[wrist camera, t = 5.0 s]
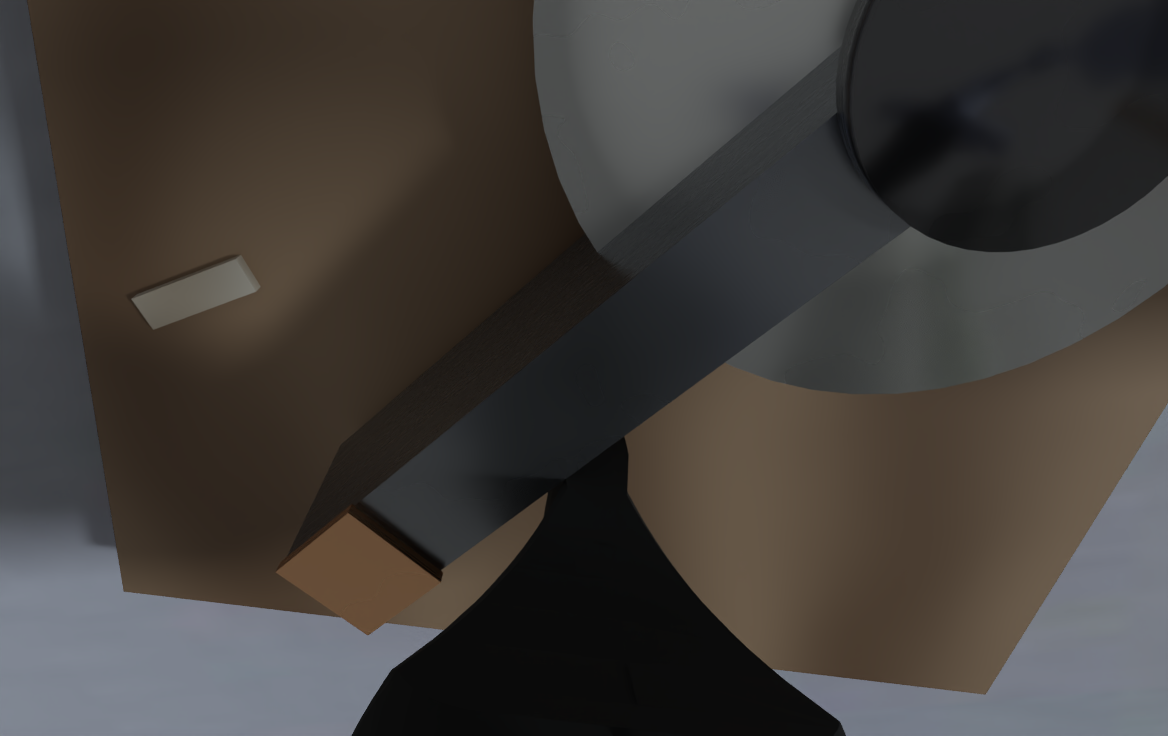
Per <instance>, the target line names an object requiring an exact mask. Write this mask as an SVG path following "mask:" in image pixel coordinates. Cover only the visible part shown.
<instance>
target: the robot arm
mask: <svg viewBox="0 0 1168 736" xmlns="http://www.w3.org/2000/svg"><path fill="white" fill-rule="evenodd" d="M628 461H629V454H628V449H627V444H626V440H625V437H622V438H621V439H620V440H618V441H617V442H616V443H614V444H613V445H612V446H610V447H609V448H607V449H606V450H605V451H603V452H602V453H601V454H599V455H598V456H597V457H595V458H594V459H592V460H591V461H590V462H588V463H587V464H586V465H584V466H583V467H582V468H580V469H579V470H577V471H576V472H575V473H573V474H572V475H571V476H569V477H568V478H566V479H565V480H564V481H562V482H561V483H560V484H558V485H557V486H556V487H554V488H553V489H551V490H550V491H549V492H548V495H547V500H546V506H545V511H544V517H543V519H542V521H541V522H540V524H539V526H538V527H537V529H536V530H535V532H534V533H533V535H532V536H531V537H530V539H529V540H528V542H527V543H526V544H525V546H524V547H523V548H522V550H521V551H520V552H519V553H518V555H517V556H516V557H515V558H514V560H513V561H512V562H511V563H510V565H509V566H508V567H507V568H506V569H505V570H504V572H503V573H502V574H501V575H500V576H499V577H498V578H497V579H496V581H495V582H494V583H493V584H492V585H491V586H490V587H489V588H488V589H487V590H486V591H485V592H484V594H483V595H482V596H481V597H480V598H479V599H478V600H477V601H476V602H474V603H473V604H472V605H471V606H470V607H469V608H468V609H467V610H466V611H465V612H463V613H462V614H461V615H460V616H459V617H458V618H457V619H456V620H455V621H454V622H452V623H451V624H450V625H449V626H448V627H447V628H446V629H445V630H444V631H442V632H441V633H440V634H439V635H438V636H436V637H435V638H434V639H433V640H431V641H430V642H429V643H427V644H426V645H425V646H423V647H422V648H421V649H419V650H418V651H416V652H415V653H414V654H412V655H411V656H410V657H408V658H407V659H406V660H404V661H403V662H402V663H400V664H399V665H398V666H396V667H395V668H393V669H392V670H391V671H390V673H389V674H388V676H387V677H386V679H385V680H384V682H383V684H382V685H381V687H380V688H379V690H378V691H377V693H376V694H375V696H374V697H373V699H372V701H371V702H370V704H369V706H368V707H367V709H366V711H365V712H364V714H363V716H362V717H361V719H360V721H359V723H358V724H357V726H356V728H355V730H354V732H353V734H352V736H846V735H845V732H844V730H843V728H842V725H841V723H840V721H838V720H837V719H836V718H834V717H833V716H832V715H830V714H829V713H828V712H826V711H825V710H824V709H822V708H821V707H820V706H818V705H817V704H816V703H814V702H813V701H812V700H810V699H809V698H808V697H806V696H805V695H804V694H803V693H801V692H800V691H799V690H797V689H796V688H795V687H793V686H792V685H791V684H789V683H788V682H787V681H785V680H784V679H783V678H782V677H780V676H779V675H778V674H777V673H776V672H775V671H773V670H772V669H771V668H770V667H769V666H768V665H767V664H765V663H764V662H763V661H762V660H761V659H760V658H759V657H757V656H756V655H755V654H754V653H753V652H752V651H751V650H749V649H748V648H747V647H746V646H745V645H744V644H743V643H742V642H741V641H740V640H739V639H738V638H737V637H736V636H735V635H734V634H733V633H732V632H731V631H730V630H729V629H728V628H727V627H726V626H725V625H724V624H723V623H722V622H721V621H720V620H719V619H718V618H717V617H716V616H715V615H714V614H713V613H712V612H711V611H710V609H709V608H708V607H707V606H706V605H705V604H704V603H703V602H702V601H701V600H700V599H699V597H698V596H697V595H696V594H695V593H694V592H693V590H692V589H691V588H690V587H689V585H688V584H687V583H686V582H685V580H684V579H683V578H682V577H681V575H680V574H679V573H678V571H677V570H676V569H675V567H674V566H673V565H672V563H671V562H670V560H669V559H668V558H667V556H666V555H665V553H664V552H663V550H662V549H661V547H660V546H659V544H658V543H657V541H656V540H655V538H654V537H653V535H652V534H651V532H650V530H649V529H648V527H647V526H646V524H645V522H644V521H643V519H642V517H641V516H640V514H639V512H638V510H637V508H636V507H635V505H634V503H633V501H632V499H631V497H630V496H629V494H628V492H627V487H628Z"/></svg>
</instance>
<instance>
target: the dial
mask: <svg viewBox="0 0 1168 736" xmlns="http://www.w3.org/2000/svg"><path fill="white" fill-rule="evenodd" d="M533 39H534V62H535V79H536V85H537V91H538V97H539V103H540V108H541V114H542V120H543V126H544V131H545V134H546V138H547V141H548V144H549V148H550V151H551V154H552V158H553V161H554V164H555V168H556V171H557V174H558V178H559V180H560V182H561V184H562V187H563V189H564V191H565V193H566V196H567V198H568V200H569V202H570V204H571V207H572V209H573V211H574V213H575V216H576V218H577V220H578V222H579V224H580V225H581V227H582V229H583V230H584V232H585V234H584V235H583V236H582V237H581V238H580V239H578V240H577V241H576V242H575V243H574V244H573V245H572V246H570V247H569V248H568V249H567V250H566V251H565V252H563V253H562V254H561V255H560V256H559V257H558V258H556V259H555V260H554V261H553V262H552V263H551V264H549V265H548V266H547V267H546V268H545V269H544V270H543V271H541V272H540V273H539V274H538V275H537V276H536V277H534V278H533V279H532V280H531V281H530V282H529V283H527V284H526V285H525V286H524V287H523V288H522V289H521V290H519V291H518V292H517V293H516V294H515V295H514V296H512V297H511V298H510V299H509V300H508V301H507V302H505V303H504V304H503V305H502V306H501V307H500V308H498V309H497V310H496V311H495V312H494V313H493V314H492V315H490V316H489V317H488V318H487V319H486V320H485V321H483V322H482V323H481V324H480V325H479V326H478V327H476V328H475V329H474V330H473V331H472V332H471V333H470V334H468V335H467V336H466V337H465V338H464V339H463V340H461V341H460V342H459V343H458V344H457V345H456V346H454V347H453V348H452V349H451V350H450V351H449V352H447V353H446V354H445V355H444V356H443V357H442V358H441V359H439V360H438V361H437V362H436V363H435V364H434V365H432V366H431V367H430V368H429V369H428V370H427V371H425V372H424V373H423V374H422V375H421V376H420V377H419V378H417V379H416V380H415V381H414V382H413V383H412V384H410V385H409V386H408V387H407V388H406V389H405V390H403V391H402V392H401V393H400V394H399V395H398V396H396V397H395V398H394V399H393V400H392V401H391V402H390V403H388V404H387V405H386V406H385V407H384V408H383V409H381V410H380V411H379V412H378V413H377V414H376V415H374V416H373V417H372V418H371V419H370V420H369V421H368V422H366V423H365V424H364V425H363V426H362V427H361V428H359V429H358V430H357V431H356V432H355V433H354V434H352V435H351V436H350V437H349V438H348V439H347V440H345V441H344V442H343V443H342V444H341V445H340V447H339V449H338V451H337V453H336V455H335V457H334V459H333V461H332V464H331V466H330V468H329V470H328V472H327V474H326V476H325V478H324V480H323V482H322V484H321V486H320V488H319V491H318V493H317V495H316V497H315V499H314V501H313V503H312V505H311V507H310V509H309V511H308V513H307V515H306V517H305V520H304V522H303V524H302V526H301V528H300V530H299V532H298V534H297V536H296V538H295V540H294V542H293V544H292V547H291V549H290V551H289V553H288V555H287V557H286V558H285V559H284V560H282V561H281V562H280V564H279V566H278V568H277V570H276V573H277V574H279V575H280V576H282V577H283V578H285V579H286V580H287V581H289V582H290V583H292V584H293V585H295V586H296V587H298V588H299V589H301V590H302V591H304V592H305V593H306V594H308V595H309V596H311V597H312V598H314V599H315V600H317V601H318V602H320V603H321V604H323V605H324V606H326V607H327V608H328V609H330V610H331V611H333V612H334V613H336V614H337V615H339V616H340V617H342V618H343V619H345V620H346V621H347V622H349V623H350V624H352V625H353V626H355V627H356V628H358V629H359V630H361V631H362V632H364V633H365V634H366V635H369V634H371V633H372V632H373V631H375V630H376V629H378V628H379V627H380V626H382V625H383V624H384V623H386V622H387V621H389V620H390V619H391V618H393V617H394V616H395V615H397V614H398V613H400V612H401V611H402V610H404V609H405V608H407V607H408V606H409V605H411V604H412V603H413V602H415V601H416V600H418V599H419V598H420V597H422V596H423V595H424V594H426V593H427V592H429V591H430V590H431V589H433V588H434V587H435V586H437V585H438V584H440V583H441V580H442V576H443V572H442V571H441V570H442V569H444V568H445V567H446V566H448V565H449V564H450V563H452V562H453V561H454V560H456V559H457V558H459V557H460V556H461V555H463V554H464V553H465V552H467V551H468V550H469V549H471V548H472V547H474V546H475V545H476V544H478V543H479V542H480V541H482V540H483V539H484V538H486V537H487V536H489V535H490V534H491V533H493V532H494V531H495V530H497V529H498V528H500V527H501V526H502V525H504V524H505V523H506V522H508V521H509V520H510V519H512V518H513V517H515V516H516V515H517V514H519V513H520V512H521V511H523V510H524V509H525V508H527V507H528V506H530V505H531V504H532V503H534V502H535V501H536V500H538V499H539V498H541V497H542V496H543V495H545V494H546V493H547V492H549V491H550V490H551V489H553V488H554V487H556V486H557V485H558V484H560V483H561V482H562V481H564V480H565V479H566V478H568V477H569V476H571V475H572V474H573V473H575V472H576V471H577V470H579V469H580V468H582V467H583V466H584V465H586V464H587V463H588V462H590V461H591V460H592V459H594V458H595V457H597V456H598V455H599V454H601V453H602V452H603V451H605V450H606V449H607V448H609V447H610V446H612V445H613V444H614V443H616V442H617V441H618V440H620V439H621V438H622V437H624V436H625V435H627V434H628V433H629V432H631V431H632V430H633V429H635V428H636V427H638V426H639V425H640V424H642V423H643V422H644V421H646V420H647V419H648V418H650V417H651V416H653V415H654V414H655V413H657V412H658V411H659V410H661V409H662V408H663V407H665V406H666V405H668V404H669V403H670V402H672V401H673V400H674V399H676V398H677V397H679V396H680V395H681V394H683V393H684V392H685V391H687V390H688V389H689V388H691V387H692V386H694V385H695V384H696V383H698V382H699V381H700V380H702V379H703V378H704V377H706V376H707V375H709V374H710V373H711V372H713V371H714V370H715V369H717V368H718V367H720V366H721V365H722V364H724V363H727V364H729V365H731V366H733V367H735V368H738V369H741V370H744V371H746V372H749V373H752V374H755V375H757V376H760V377H763V378H766V379H768V380H771V381H775V382H780V383H784V384H788V385H793V386H797V387H802V388H806V389H811V390H818V391H828V392H837V393H847V394H899V393H908V392H916V391H924V390H933V389H941V388H945V387H950V386H954V385H958V384H963V383H967V382H972V381H976V380H980V379H985V378H988V377H991V376H994V375H997V374H1000V373H1003V372H1006V371H1009V370H1012V369H1015V368H1018V367H1021V366H1024V365H1027V364H1030V363H1032V362H1034V361H1036V360H1039V359H1041V358H1043V357H1045V356H1048V355H1050V354H1052V353H1054V352H1057V351H1059V350H1061V349H1063V348H1066V347H1068V346H1070V345H1072V344H1075V343H1076V342H1078V341H1080V340H1082V339H1083V338H1085V337H1087V336H1089V335H1091V334H1092V333H1094V332H1096V331H1098V330H1099V329H1101V328H1103V327H1105V326H1106V325H1108V324H1110V323H1112V322H1114V321H1115V320H1117V319H1119V318H1120V317H1122V316H1123V315H1125V314H1126V313H1128V312H1129V311H1130V310H1132V309H1133V308H1135V307H1136V306H1138V305H1139V304H1141V303H1142V302H1143V301H1145V300H1146V299H1148V298H1149V297H1151V296H1152V295H1154V294H1155V293H1156V292H1158V291H1159V290H1161V289H1162V288H1163V287H1165V286H1166V285H1167V284H1168V0H534V8H533Z"/></svg>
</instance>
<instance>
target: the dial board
mask: <svg viewBox="0 0 1168 736" xmlns="http://www.w3.org/2000/svg"><path fill="white" fill-rule="evenodd" d="M27 3H28V9H29V15H30V21H31V27H32V33H33V39H34V46H35V52H36V58H37V64H38V70H39V76H40V82H41V88H42V94H43V101H44V107H45V113H46V119H47V125H48V131H49V137H50V143H51V149H52V156H53V162H54V168H55V174H56V180H57V186H58V192H59V198H60V205H61V211H62V217H63V223H64V229H65V235H66V241H67V247H68V253H69V260H70V266H71V272H72V278H73V284H74V290H75V296H76V302H77V309H78V315H79V321H80V327H81V333H82V339H83V345H84V351H85V357H86V364H87V370H88V376H89V382H90V388H91V394H92V400H93V406H94V412H95V419H96V425H97V431H98V437H99V443H100V449H101V455H102V461H103V468H104V474H105V480H106V486H107V492H108V498H109V504H110V510H111V516H112V523H113V529H114V535H115V541H116V547H117V553H118V559H119V565H120V571H121V578H122V584H123V590H124V592H133V593H141V594H149V595H158V596H166V597H174V598H183V599H191V600H200V601H208V602H216V603H225V604H233V605H241V606H250V607H258V608H266V609H275V610H283V611H292V612H300V613H308V614H317V615H325V616H333V617H340V616H339V615H337V614H336V613H334V612H333V611H331V610H330V609H328V608H327V607H326V606H324V605H323V604H321V603H320V602H318V601H317V600H315V599H314V598H312V597H311V596H309V595H308V594H306V593H305V592H304V591H302V590H301V589H299V588H298V587H296V586H295V585H293V584H292V583H290V582H289V581H287V580H286V579H285V578H283V577H282V576H280V575H279V574H277V573H276V570H277V568H278V566H279V564H280V562H281V561H282V560H284V559H285V558H286V557H287V555H288V553H289V551H290V549H291V547H292V544H293V542H294V540H295V538H296V536H297V534H298V532H299V530H300V528H301V526H302V524H303V522H304V520H305V517H306V515H307V513H308V511H309V509H310V507H311V505H312V503H313V501H314V499H315V497H316V495H317V493H318V491H319V488H320V486H321V484H322V482H323V480H324V478H325V476H326V474H327V472H328V470H329V468H330V466H331V464H332V461H333V459H334V457H335V455H336V453H337V451H338V449H339V447H340V445H341V444H342V443H343V442H344V441H345V440H347V439H348V438H349V437H350V436H351V435H352V434H354V433H355V432H356V431H357V430H358V429H359V428H361V427H362V426H363V425H364V424H365V423H366V422H368V421H369V420H370V419H371V418H372V417H373V416H374V415H376V414H377V413H378V412H379V411H380V410H381V409H383V408H384V407H385V406H386V405H387V404H388V403H390V402H391V401H392V400H393V399H394V398H395V397H396V396H398V395H399V394H400V393H401V392H402V391H403V390H405V389H406V388H407V387H408V386H409V385H410V384H412V383H413V382H414V381H415V380H416V379H417V378H419V377H420V376H421V375H422V374H423V373H424V372H425V371H427V370H428V369H429V368H430V367H431V366H432V365H434V364H435V363H436V362H437V361H438V360H439V359H441V358H442V357H443V356H444V355H445V354H446V353H447V352H449V351H450V350H451V349H452V348H453V347H454V346H456V345H457V344H458V343H459V342H460V341H461V340H463V339H464V338H465V337H466V336H467V335H468V334H470V333H471V332H472V331H473V330H474V329H475V328H476V327H478V326H479V325H480V324H481V323H482V322H483V321H485V320H486V319H487V318H488V317H489V316H490V315H492V314H493V313H494V312H495V311H496V310H497V309H498V308H500V307H501V306H502V305H503V304H504V303H505V302H507V301H508V300H509V299H510V298H511V297H512V296H514V295H515V294H516V293H517V292H518V291H519V290H521V289H522V288H523V287H524V286H525V285H526V284H527V283H529V282H530V281H531V280H532V279H533V278H534V277H536V276H537V275H538V274H539V273H540V272H541V271H543V270H544V269H545V268H546V267H547V266H548V265H549V264H551V263H552V262H553V261H554V260H555V259H556V258H558V257H559V256H560V255H561V254H562V253H563V252H565V251H566V250H567V249H568V248H569V247H570V246H572V245H573V244H574V243H575V242H576V241H577V240H578V239H580V238H581V237H582V236H583V235H584V234H585V232H584V230H583V229H582V227H581V225H580V224H579V222H578V220H577V218H576V216H575V213H574V211H573V209H572V207H571V204H570V202H569V200H568V198H567V196H566V193H565V191H564V189H563V187H562V184H561V182H560V180H559V178H558V174H557V171H556V168H555V164H554V161H553V158H552V154H551V151H550V148H549V144H548V141H547V138H546V134H545V131H544V126H543V120H542V114H541V108H540V103H539V97H538V91H537V85H536V79H535V62H534V39H533V8H534V0H27ZM1167 403H1168V284H1167V285H1166V286H1165V287H1163V288H1162V289H1161V290H1159V291H1158V292H1156V293H1155V294H1154V295H1152V296H1151V297H1149V298H1148V299H1146V300H1145V301H1143V302H1142V303H1141V304H1139V305H1138V306H1136V307H1135V308H1133V309H1132V310H1130V311H1129V312H1128V313H1126V314H1125V315H1123V316H1122V317H1120V318H1119V319H1117V320H1115V321H1114V322H1112V323H1110V324H1108V325H1106V326H1105V327H1103V328H1101V329H1099V330H1098V331H1096V332H1094V333H1092V334H1091V335H1089V336H1087V337H1085V338H1083V339H1082V340H1080V341H1078V342H1076V343H1075V344H1072V345H1070V346H1068V347H1066V348H1063V349H1061V350H1059V351H1057V352H1054V353H1052V354H1050V355H1048V356H1045V357H1043V358H1041V359H1039V360H1036V361H1034V362H1032V363H1030V364H1027V365H1024V366H1021V367H1018V368H1015V369H1012V370H1009V371H1006V372H1003V373H1000V374H997V375H994V376H991V377H988V378H985V379H980V380H976V381H972V382H967V383H963V384H958V385H954V386H950V387H945V388H941V389H933V390H924V391H916V392H908V393H899V394H847V393H837V392H828V391H818V390H811V389H806V388H802V387H797V386H793V385H788V384H784V383H780V382H775V381H771V380H768V379H766V378H763V377H760V376H757V375H755V374H752V373H749V372H746V371H744V370H741V369H738V368H735V367H733V366H731V365H729V364H727V363H724V364H722V365H721V366H720V367H718V368H717V369H715V370H714V371H713V372H711V373H710V374H709V375H707V376H706V377H704V378H703V379H702V380H700V381H699V382H698V383H696V384H695V385H694V386H692V387H691V388H689V389H688V390H687V391H685V392H684V393H683V394H681V395H680V396H679V397H677V398H676V399H674V400H673V401H672V402H670V403H669V404H668V405H666V406H665V407H663V408H662V409H661V410H659V411H658V412H657V413H655V414H654V415H653V416H651V417H650V418H648V419H647V420H646V421H644V422H643V423H642V424H640V425H639V426H638V427H636V428H635V429H633V430H632V431H631V432H629V433H628V434H627V435H625V436H624V437H625V440H626V444H627V449H628V454H629V461H628V487H627V492H628V494H629V496H630V497H631V499H632V501H633V503H634V505H635V507H636V508H637V510H638V512H639V514H640V516H641V517H642V519H643V521H644V522H645V524H646V526H647V527H648V529H649V530H650V532H651V534H652V535H653V537H654V538H655V540H656V541H657V543H658V544H659V546H660V547H661V549H662V550H663V552H664V553H665V555H666V556H667V558H668V559H669V560H670V562H671V563H672V565H673V566H674V567H675V569H676V570H677V571H678V573H679V574H680V575H681V577H682V578H683V579H684V580H685V582H686V583H687V584H688V585H689V587H690V588H691V589H692V590H693V592H694V593H695V594H696V595H697V596H698V597H699V599H700V600H701V601H702V602H703V603H704V604H705V605H706V606H707V607H708V608H709V609H710V611H711V612H712V613H713V614H714V615H715V616H716V617H717V618H718V619H719V620H720V621H721V622H722V623H723V624H724V625H725V626H726V627H727V628H728V629H729V630H730V631H731V632H732V633H733V634H734V635H735V636H736V637H737V638H738V639H739V640H740V641H741V642H742V643H743V644H744V645H745V646H746V647H747V648H748V649H749V650H751V651H752V652H753V653H754V654H755V655H756V656H757V657H759V658H760V659H761V660H762V661H763V662H764V663H765V664H767V665H768V666H769V667H770V668H771V669H777V670H785V671H793V672H802V673H810V674H818V675H827V676H835V677H844V678H852V679H860V680H869V681H877V682H885V683H894V684H902V685H910V686H919V687H927V688H936V689H944V690H952V691H961V692H969V693H977V694H986V693H987V691H988V690H989V688H990V687H991V685H992V683H993V682H994V680H995V679H996V677H997V675H998V674H999V672H1000V671H1001V669H1002V667H1003V666H1004V664H1005V663H1006V661H1007V659H1008V658H1009V656H1010V655H1011V653H1012V651H1013V650H1014V648H1015V647H1016V645H1017V643H1018V642H1019V640H1020V639H1021V637H1022V635H1023V634H1024V632H1025V631H1026V629H1027V627H1028V626H1029V624H1030V623H1031V621H1032V619H1033V618H1034V616H1035V615H1036V613H1037V611H1038V610H1039V608H1040V607H1041V605H1042V603H1043V602H1044V600H1045V599H1046V597H1047V595H1048V594H1049V592H1050V591H1051V589H1052V587H1053V586H1054V584H1055V583H1056V581H1057V579H1058V578H1059V576H1060V575H1061V573H1062V571H1063V570H1064V568H1065V567H1066V565H1067V563H1068V562H1069V560H1070V559H1071V557H1072V555H1073V554H1074V552H1075V551H1076V549H1077V547H1078V546H1079V544H1080V543H1081V541H1082V539H1083V538H1084V536H1085V535H1086V533H1087V531H1088V530H1089V528H1090V527H1091V525H1092V523H1093V522H1094V520H1095V519H1096V517H1097V515H1098V514H1099V512H1100V511H1101V509H1102V507H1103V506H1104V504H1105V503H1106V501H1107V499H1108V498H1109V496H1110V495H1111V493H1112V491H1113V490H1114V488H1115V487H1116V485H1117V483H1118V482H1119V480H1120V479H1121V477H1122V475H1123V474H1124V472H1125V471H1126V469H1127V467H1128V466H1129V464H1130V463H1131V461H1132V459H1133V458H1134V456H1135V455H1136V453H1137V451H1138V450H1139V448H1140V447H1141V445H1142V443H1143V442H1144V440H1145V439H1146V437H1147V435H1148V434H1149V432H1150V431H1151V429H1152V427H1153V426H1154V424H1155V423H1156V421H1157V419H1158V418H1159V416H1160V415H1161V413H1162V411H1163V410H1164V408H1165V407H1166V405H1167ZM547 495H548V492H547V493H546V494H545V495H543V496H542V497H541V498H539V499H538V500H536V501H535V502H534V503H532V504H531V505H530V506H528V507H527V508H525V509H524V510H523V511H521V512H520V513H519V514H517V515H516V516H515V517H513V518H512V519H510V520H509V521H508V522H506V523H505V524H504V525H502V526H501V527H500V528H498V529H497V530H495V531H494V532H493V533H491V534H490V535H489V536H487V537H486V538H484V539H483V540H482V541H480V542H479V543H478V544H476V545H475V546H474V547H472V548H471V549H469V550H468V551H467V552H465V553H464V554H463V555H461V556H460V557H459V558H457V559H456V560H454V561H453V562H452V563H450V564H449V565H448V566H446V567H445V568H444V569H442V570H441V571H442V572H443V576H442V580H441V583H440V584H438V585H437V586H435V587H434V588H433V589H431V590H430V591H429V592H427V593H426V594H424V595H423V596H422V597H420V598H419V599H418V600H416V601H415V602H413V603H412V604H411V605H409V606H408V607H407V608H405V609H404V610H402V611H401V612H400V613H398V614H397V615H395V616H394V617H393V618H391V619H390V620H389V621H387V622H386V623H392V624H400V625H409V626H417V627H425V628H434V629H442V630H445V629H446V628H447V627H448V626H449V625H450V624H451V623H452V622H454V621H455V620H456V619H457V618H458V617H459V616H460V615H461V614H462V613H463V612H465V611H466V610H467V609H468V608H469V607H470V606H471V605H472V604H473V603H474V602H476V601H477V600H478V599H479V598H480V597H481V596H482V595H483V594H484V592H485V591H486V590H487V589H488V588H489V587H490V586H491V585H492V584H493V583H494V582H495V581H496V579H497V578H498V577H499V576H500V575H501V574H502V573H503V572H504V570H505V569H506V568H507V567H508V566H509V565H510V563H511V562H512V561H513V560H514V558H515V557H516V556H517V555H518V553H519V552H520V551H521V550H522V548H523V547H524V546H525V544H526V543H527V542H528V540H529V539H530V537H531V536H532V535H533V533H534V532H535V530H536V529H537V527H538V526H539V524H540V522H541V521H542V519H543V517H544V511H545V506H546V500H547Z"/></svg>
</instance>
